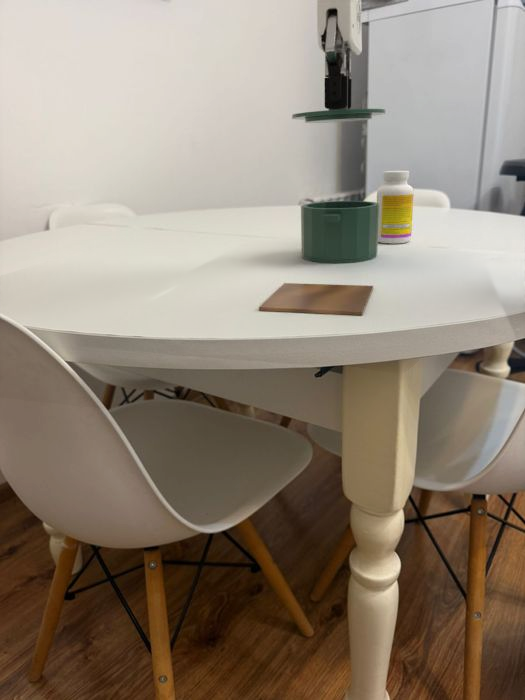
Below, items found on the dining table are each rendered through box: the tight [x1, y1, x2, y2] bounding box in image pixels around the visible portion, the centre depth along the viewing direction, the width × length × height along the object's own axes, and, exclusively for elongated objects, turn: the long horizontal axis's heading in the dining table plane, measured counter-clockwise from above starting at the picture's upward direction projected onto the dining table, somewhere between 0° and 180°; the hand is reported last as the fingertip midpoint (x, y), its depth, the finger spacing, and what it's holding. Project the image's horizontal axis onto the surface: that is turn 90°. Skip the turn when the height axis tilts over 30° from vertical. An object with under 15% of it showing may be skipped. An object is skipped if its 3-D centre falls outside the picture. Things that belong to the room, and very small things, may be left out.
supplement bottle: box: [376, 170, 414, 245], centre depth 101 cm, size 7×7×13 cm
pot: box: [300, 200, 379, 264], centre depth 91 cm, size 13×18×8 cm
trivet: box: [258, 282, 374, 316], centre depth 66 cm, size 12×12×1 cm
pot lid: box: [291, 70, 386, 124], centre depth 78 cm, size 14×14×7 cm
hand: (338, 107), depth 79 cm, fingers closed on pot lid, 2 cm apart
